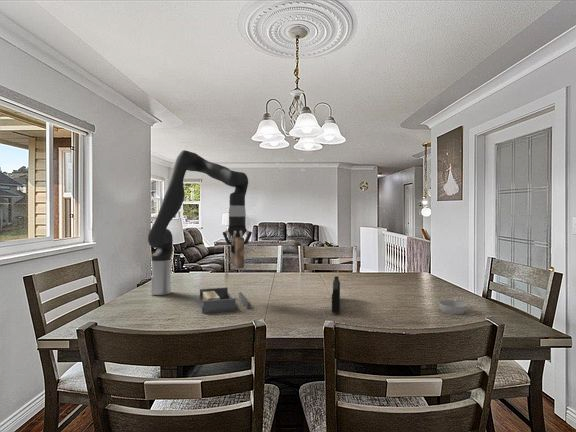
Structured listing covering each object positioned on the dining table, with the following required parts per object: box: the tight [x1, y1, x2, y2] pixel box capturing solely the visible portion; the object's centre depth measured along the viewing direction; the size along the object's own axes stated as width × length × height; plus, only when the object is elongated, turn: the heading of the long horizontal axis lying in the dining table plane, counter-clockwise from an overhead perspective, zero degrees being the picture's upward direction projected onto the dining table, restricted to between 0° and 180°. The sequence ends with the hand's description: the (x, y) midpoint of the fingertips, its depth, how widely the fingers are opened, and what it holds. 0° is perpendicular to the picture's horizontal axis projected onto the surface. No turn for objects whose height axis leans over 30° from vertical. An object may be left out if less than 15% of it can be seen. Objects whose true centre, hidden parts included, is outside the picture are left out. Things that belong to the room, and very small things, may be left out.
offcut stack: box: [202, 291, 220, 302], centre depth 163 cm, size 6×18×5 cm, turn 21°
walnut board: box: [230, 235, 245, 269], centre depth 166 cm, size 3×18×13 cm, turn 17°
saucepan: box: [438, 296, 468, 315], centre depth 155 cm, size 11×18×4 cm, turn 148°
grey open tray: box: [198, 287, 251, 315], centre depth 164 cm, size 20×25×5 cm
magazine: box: [331, 276, 341, 314], centre depth 160 cm, size 17×3×30 cm
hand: (237, 253), depth 166 cm, fingers closed on walnut board, 3 cm apart
